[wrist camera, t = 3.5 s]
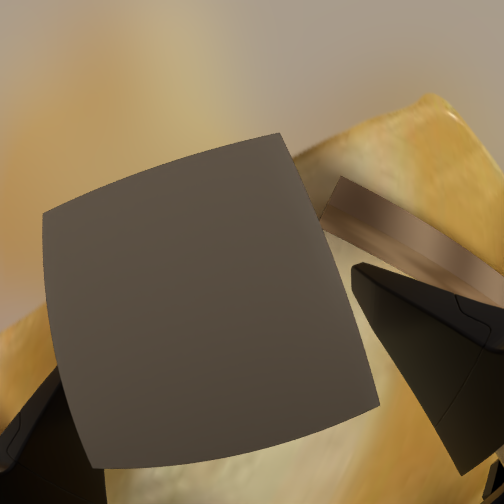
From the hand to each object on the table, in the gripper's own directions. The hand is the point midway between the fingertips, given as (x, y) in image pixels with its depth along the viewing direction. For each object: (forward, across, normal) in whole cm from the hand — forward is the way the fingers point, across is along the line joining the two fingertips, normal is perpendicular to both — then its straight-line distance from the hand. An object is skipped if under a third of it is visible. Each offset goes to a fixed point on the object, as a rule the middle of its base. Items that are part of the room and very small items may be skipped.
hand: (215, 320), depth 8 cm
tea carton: (+6, 0, +6) cm, 8 cm away
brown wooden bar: (+5, -14, +6) cm, 16 cm away
